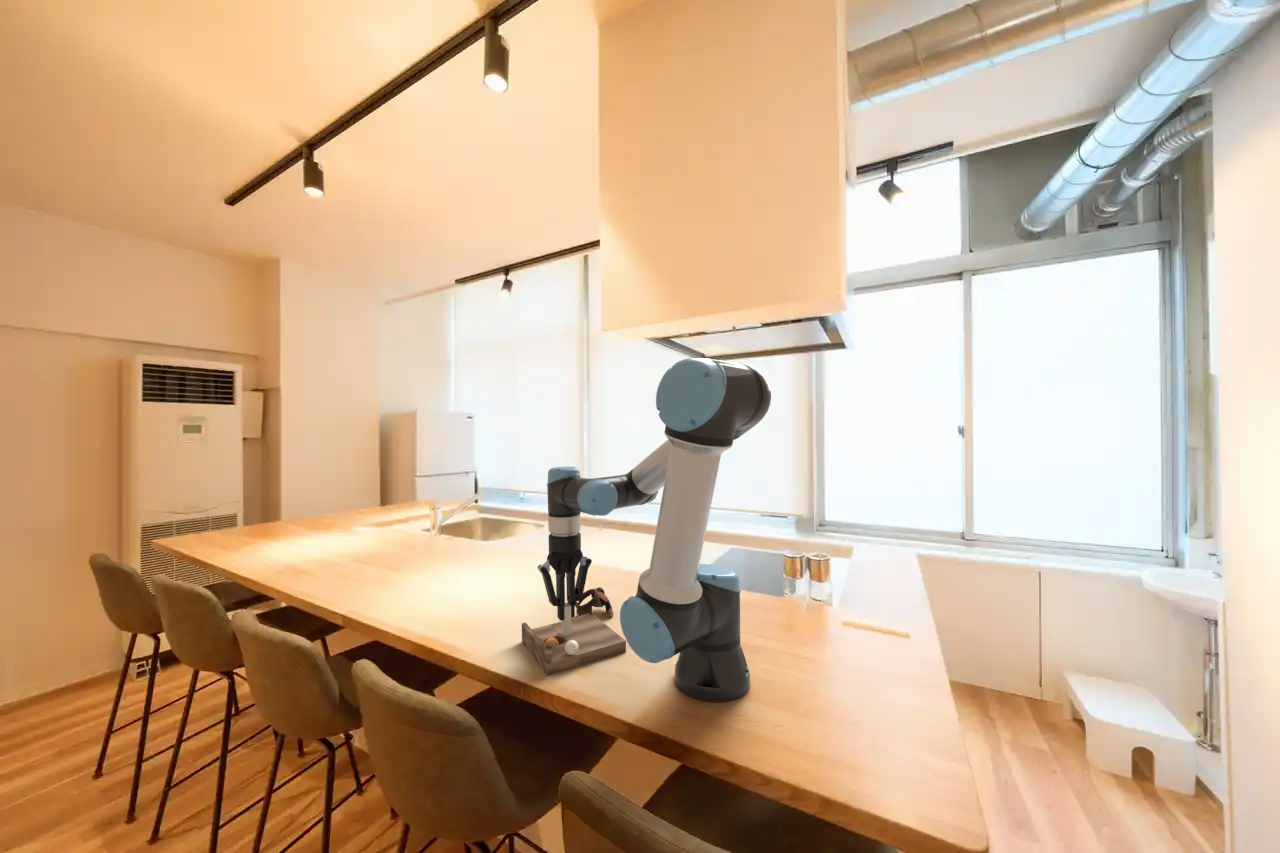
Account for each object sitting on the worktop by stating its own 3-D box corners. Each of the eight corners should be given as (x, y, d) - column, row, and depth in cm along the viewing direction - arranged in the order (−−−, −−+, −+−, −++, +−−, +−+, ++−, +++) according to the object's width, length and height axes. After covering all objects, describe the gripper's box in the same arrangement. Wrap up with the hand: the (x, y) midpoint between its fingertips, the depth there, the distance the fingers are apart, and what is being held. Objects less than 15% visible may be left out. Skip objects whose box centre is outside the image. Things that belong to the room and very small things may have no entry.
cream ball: (580, 655, 101) (580, 641, 101) (567, 659, 100) (567, 645, 100) (575, 649, 104) (575, 636, 104) (562, 653, 102) (562, 639, 102)
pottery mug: (613, 625, 123) (598, 601, 122) (583, 638, 125) (567, 614, 123) (619, 596, 135) (604, 574, 133) (591, 609, 137) (576, 587, 135)
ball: (560, 639, 108) (547, 642, 106) (560, 653, 108) (547, 656, 106) (556, 634, 110) (543, 636, 109) (555, 647, 110) (542, 650, 109)
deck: (625, 651, 108) (625, 632, 108) (547, 675, 98) (546, 654, 98) (592, 623, 123) (592, 606, 123) (522, 641, 113) (521, 623, 113)
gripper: (583, 526, 116) (585, 620, 116) (532, 533, 110) (534, 632, 110) (596, 532, 110) (598, 631, 110) (543, 539, 103) (545, 645, 103)
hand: (566, 632), depth 110 cm, fingers closed
